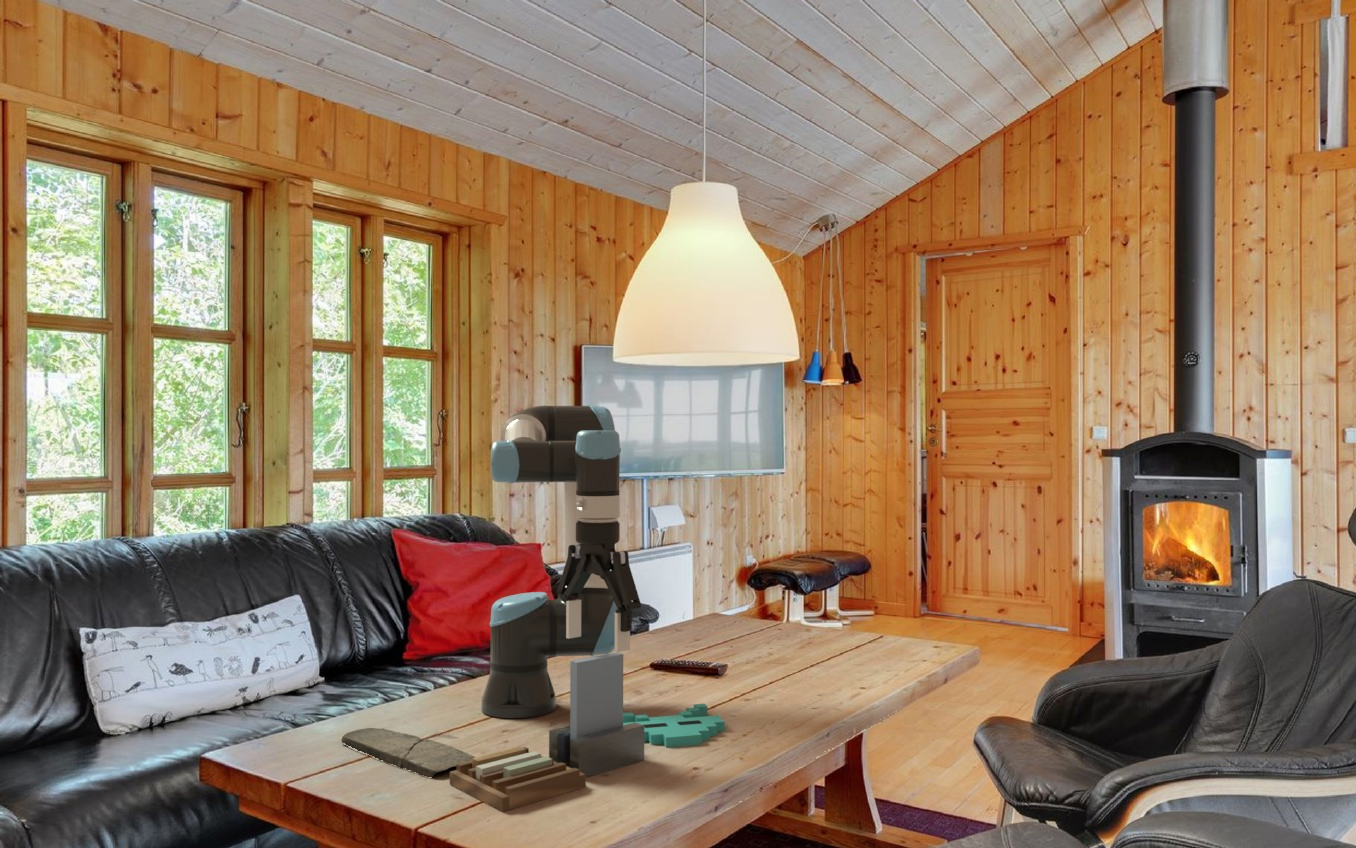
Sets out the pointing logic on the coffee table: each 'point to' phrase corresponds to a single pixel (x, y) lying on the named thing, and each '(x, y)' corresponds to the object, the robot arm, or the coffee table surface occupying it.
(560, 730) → the holder
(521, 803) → the rack
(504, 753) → the offcut
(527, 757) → the offcut
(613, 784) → the coffee table surface
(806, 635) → the coffee table surface
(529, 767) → the offcut
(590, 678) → the tall sheet
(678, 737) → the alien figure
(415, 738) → the stone slab
